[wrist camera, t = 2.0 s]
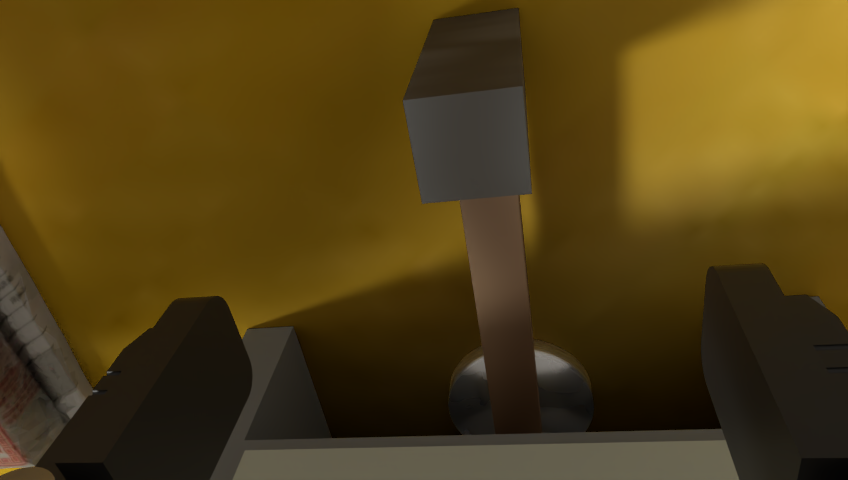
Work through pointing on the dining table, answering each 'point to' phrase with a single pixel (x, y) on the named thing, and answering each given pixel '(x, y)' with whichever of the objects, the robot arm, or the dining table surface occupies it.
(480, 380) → the steel token
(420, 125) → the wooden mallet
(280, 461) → the slate cabinet
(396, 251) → the dining table surface
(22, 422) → the packaged product
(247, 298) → the dining table surface
